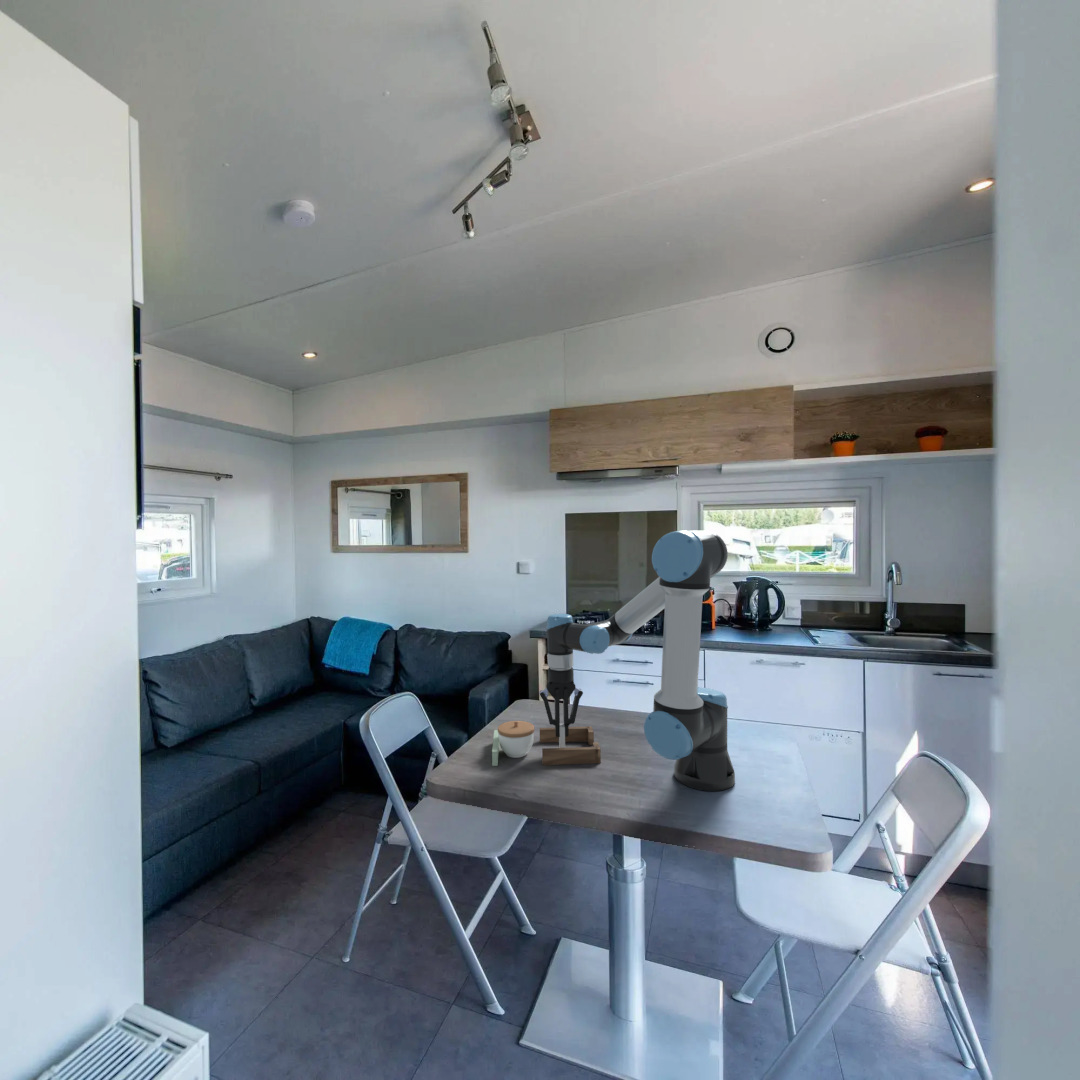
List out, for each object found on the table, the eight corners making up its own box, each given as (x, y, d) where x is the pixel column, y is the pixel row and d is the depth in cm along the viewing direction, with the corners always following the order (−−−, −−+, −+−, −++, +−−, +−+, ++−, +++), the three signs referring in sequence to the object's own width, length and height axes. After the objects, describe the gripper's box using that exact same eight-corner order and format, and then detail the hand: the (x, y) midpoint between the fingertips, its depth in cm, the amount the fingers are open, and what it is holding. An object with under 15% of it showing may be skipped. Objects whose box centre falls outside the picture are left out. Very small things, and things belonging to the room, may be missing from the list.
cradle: (600, 763, 145) (600, 748, 145) (542, 765, 144) (542, 750, 144) (591, 739, 162) (591, 726, 162) (539, 740, 161) (539, 727, 161)
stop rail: (497, 765, 144) (497, 751, 144) (492, 765, 144) (492, 751, 144) (499, 742, 160) (499, 729, 160) (494, 742, 160) (494, 729, 160)
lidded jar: (511, 743, 159) (510, 713, 159) (541, 750, 154) (540, 718, 154) (490, 756, 150) (490, 724, 150) (522, 764, 145) (521, 730, 145)
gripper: (580, 663, 156) (582, 741, 156) (537, 664, 156) (539, 743, 156) (584, 669, 149) (586, 751, 149) (539, 671, 148) (540, 753, 148)
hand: (562, 747), depth 152 cm, fingers closed
